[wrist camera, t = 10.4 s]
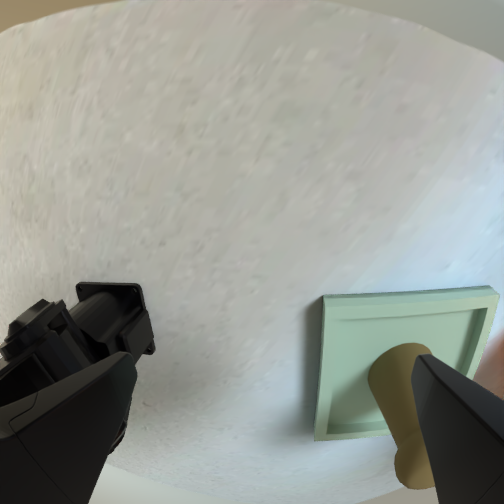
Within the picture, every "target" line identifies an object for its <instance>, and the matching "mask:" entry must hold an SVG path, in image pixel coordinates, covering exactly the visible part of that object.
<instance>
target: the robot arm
mask: <svg viewBox="0 0 504 504" xmlns="http://www.w3.org/2000/svg"><path fill="white" fill-rule="evenodd" d="M81 288H82V289H81ZM133 288H134V289H136V290H137V292H135V291H134V289H133ZM76 291H77V295H78V299H79V303H78V304H77V305H75V306H74V307H73V308H72V309H71V310H70V311H68V310H67V309H66V305H65V303H64V301H63V300H60V301H58V302H56V303H55V302H52V303H50V302H48V301H46V300H44V299H41V300H40V301H38V302H37V303H36V304H34V305H33V306H32V307H30V308H29V309H28V310H26V311H25V312H24V313H22V314H21V315H20V316H19V317H18V318H16V319H15V320H14V321H13V322H12V323H11V324H9V330H8V336H7V337H6V338H5V339H4V342H3V343H2V345H1V346H0V353H1V355H2V356H3V357H2V358H1V359H0V504H88V503H89V500H90V498H91V495H92V493H93V490H94V487H95V485H96V483H97V480H98V478H99V475H100V473H101V471H102V468H103V466H104V463H105V461H106V459H107V456H108V455H109V454H111V453H112V452H113V451H114V449H115V448H116V447H117V446H118V445H119V443H120V442H121V441H122V439H123V437H124V434H125V430H126V428H127V420H128V415H129V410H130V406H131V401H132V397H131V396H132V393H133V390H134V387H135V384H136V381H137V370H136V367H135V364H136V363H137V361H138V360H139V358H140V357H141V355H142V354H146V355H152V354H153V353H154V352H155V345H154V341H153V338H154V335H153V331H152V327H151V322H150V318H149V314H148V311H147V310H146V307H145V302H144V297H143V293H142V288H141V286H140V285H138V284H136V283H102V282H79V283H78V284H77V285H76ZM148 348H150V349H151V350H149V349H148ZM411 385H412V390H413V395H414V401H415V406H416V412H417V417H418V422H419V426H420V430H421V433H422V437H423V440H424V444H425V447H426V451H427V455H428V459H429V462H430V466H431V470H432V475H433V479H434V483H435V487H436V492H437V496H438V501H439V504H504V400H502V399H501V398H499V397H498V396H496V395H494V394H493V393H491V392H490V391H488V390H487V389H485V388H484V387H482V386H480V385H479V384H477V383H476V382H474V381H472V380H471V379H469V378H468V377H466V376H465V375H463V374H461V373H460V372H458V371H457V370H455V369H454V368H452V367H450V366H449V365H447V364H446V363H444V362H442V361H441V360H439V359H438V358H436V357H435V356H433V355H431V354H429V353H426V354H419V355H417V357H416V359H415V363H414V366H413V370H412V373H411Z"/></svg>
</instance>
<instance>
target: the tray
mask: <svg viewBox="0 0 504 504" xmlns="http://www.w3.org/2000/svg"><path fill="white" fill-rule="evenodd" d="M499 297H500V294H499V293H498V292H496V291H495V290H494V289H493V288H492V287H491V286H489V285H488V286H477V287H465V288H452V289H438V290H423V291H407V292H388V293H366V294H340V295H323V311H322V332H321V349H320V364H319V378H318V390H317V401H316V411H315V421H314V441H330V440H345V439H357V438H368V437H376V436H385V435H392V434H391V432H390V430H389V428H388V426H387V423H386V421H385V419H384V417H383V415H382V413H381V411H380V409H379V406H378V404H377V402H376V400H375V398H374V396H373V394H372V392H371V390H370V388H369V384H368V380H367V379H368V373H369V370H370V368H371V366H372V365H373V363H374V362H375V361H376V360H377V358H378V357H379V356H380V355H381V354H383V353H384V352H386V351H387V350H389V349H390V348H392V347H395V346H398V345H400V344H403V343H413V342H414V343H419V344H423V345H425V346H426V347H428V348H429V349H430V351H431V352H432V354H433V356H435V357H436V358H438V359H439V360H441V361H442V362H444V363H446V364H447V365H449V366H450V367H452V368H454V369H455V370H457V371H458V372H460V373H461V374H463V375H465V376H466V377H468V378H469V379H471V380H473V378H474V375H475V373H476V370H477V368H478V365H479V362H480V360H481V357H482V354H483V351H484V348H485V345H486V342H487V339H488V336H489V333H490V330H491V326H492V323H493V320H494V316H495V312H496V309H497V305H498V301H499Z"/></svg>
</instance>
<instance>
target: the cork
mask: <svg viewBox="0 0 504 504" xmlns="http://www.w3.org/2000/svg"><path fill="white" fill-rule="evenodd" d="M426 353H429V354H431V355H433V354H432V352H431V351H430V349H429V348H428V347H426V346H425V345H423V344H419V343H414V342H413V343H403V344H400V345H398V346H395V347H392V348H390V349H389V350H387V351H386V352H384V353H383V354H381V355H380V356H379V357H378V358H377V360H376V361H375V362H374V363H373V365H372V366H371V368H370V370H369V373H368V379H367V380H368V384H369V388H370V390H371V392H372V394H373V396H374V398H375V400H376V402H377V404H378V406H379V409H380V411H381V413H382V415H383V417H384V419H385V421H386V423H387V426H388V428H389V430H390V432H391V434H392V436H393V439H394V441H395V443H396V445H397V447H398V451H397V453H396V455H395V462H394V465H395V472H396V476H397V478H398V480H399V481H400V482H401V483H402V484H403V485H404V486H406V487H407V488H409V489H417V490H418V489H427V488H431V487H434V486H435V483H434V479H433V475H432V470H431V466H430V462H429V459H428V455H427V451H426V447H425V444H424V440H423V437H422V433H421V430H420V426H419V422H418V417H417V412H416V406H415V401H414V395H413V390H412V385H411V373H412V370H413V366H414V363H415V359H416V357H417V355H419V354H426Z"/></svg>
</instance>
